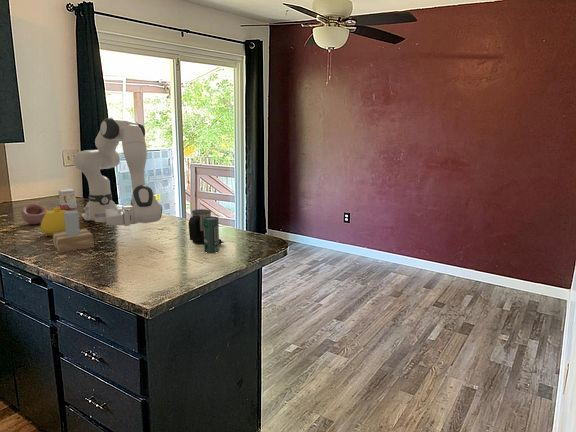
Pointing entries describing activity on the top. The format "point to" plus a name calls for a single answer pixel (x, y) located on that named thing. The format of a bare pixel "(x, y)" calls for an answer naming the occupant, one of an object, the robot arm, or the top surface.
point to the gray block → (72, 223)
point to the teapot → (53, 221)
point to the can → (211, 234)
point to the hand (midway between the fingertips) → (94, 217)
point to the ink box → (67, 199)
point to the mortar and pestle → (33, 213)
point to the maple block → (73, 240)
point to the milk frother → (198, 226)
